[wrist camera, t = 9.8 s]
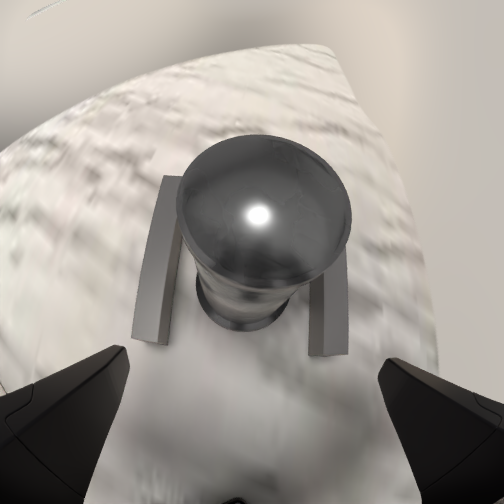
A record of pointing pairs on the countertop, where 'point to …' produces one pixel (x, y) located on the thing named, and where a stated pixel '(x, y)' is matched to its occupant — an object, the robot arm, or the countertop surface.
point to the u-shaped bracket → (164, 275)
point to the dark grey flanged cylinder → (259, 225)
